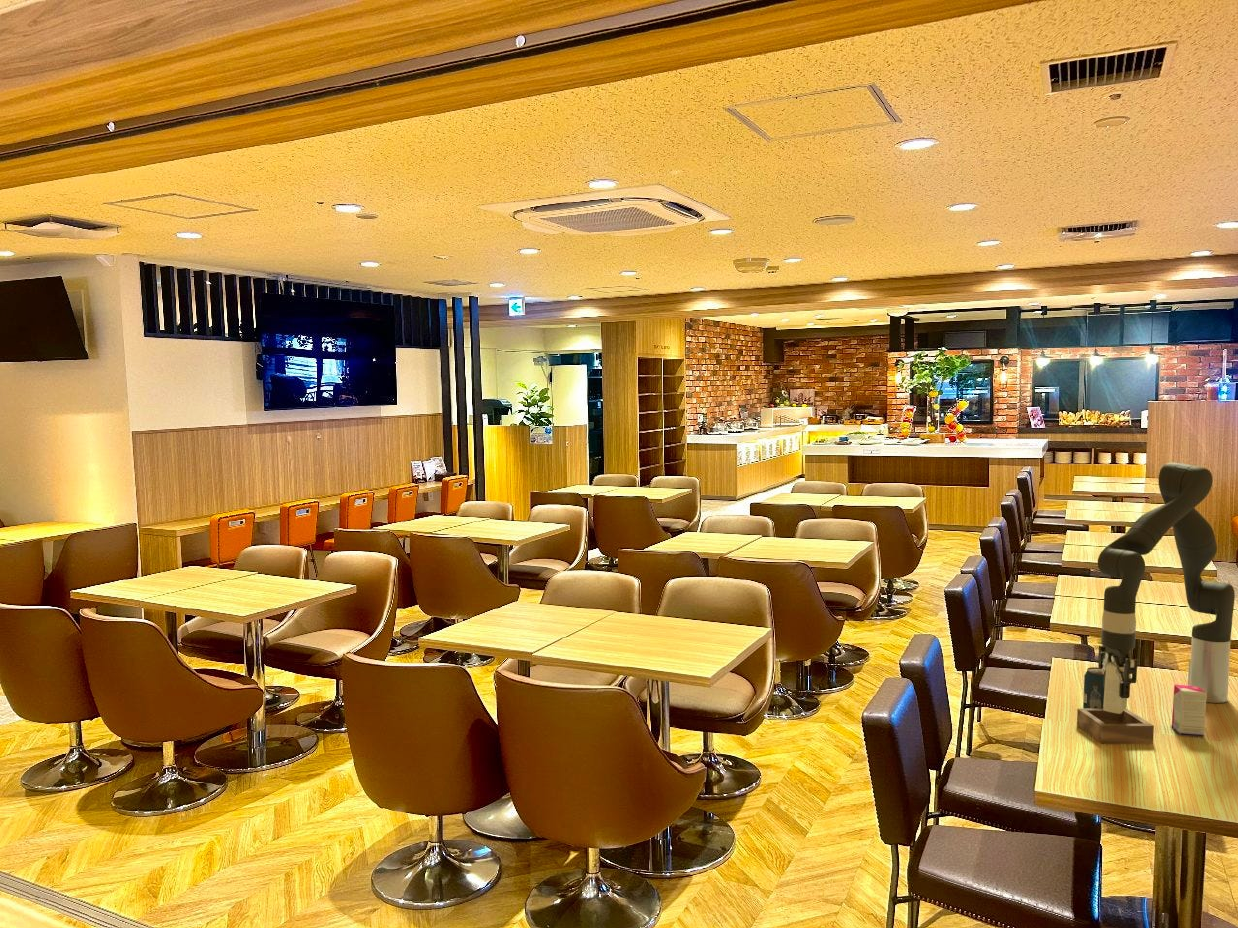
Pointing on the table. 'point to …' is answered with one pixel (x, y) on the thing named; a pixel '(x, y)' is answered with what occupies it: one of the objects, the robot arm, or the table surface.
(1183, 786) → the table surface
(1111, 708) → the skincare box
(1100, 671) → the soda can
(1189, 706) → the supplement box
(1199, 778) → the table surface
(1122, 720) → the brown wooden square frame
